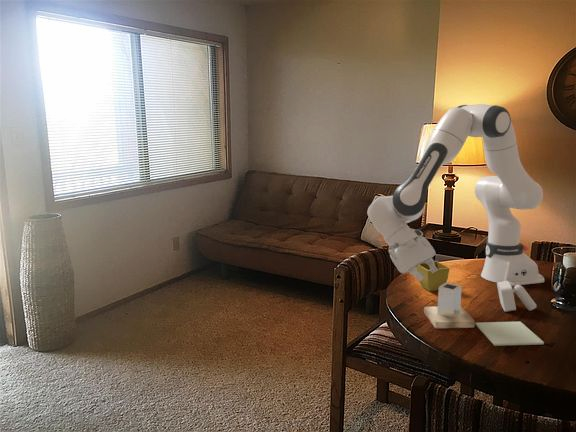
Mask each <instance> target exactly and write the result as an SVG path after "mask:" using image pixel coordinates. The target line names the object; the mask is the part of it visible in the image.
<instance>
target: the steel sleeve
mask: <svg viewBox="0 0 576 432" xmlns="http://www.w3.org/2000/svg"><path fill="white" fill-rule="evenodd" d="M462 287H463V286H462V285H458V284H454V283H450V282H446V283H444V284H443V285H441V286H440V287H439V290H438V294H437V298H438V299H437V306H438V310H437V314H438V315H442V316H446V317H449V318H455V317H456V316H457V315H458V314H460V306H461V304H462V303H461V301H462ZM461 307H462V306H461Z"/></svg>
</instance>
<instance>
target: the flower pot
mask: <svg viewBox="0 0 576 432" xmlns="http://www.w3.org/2000/svg"><path fill="white" fill-rule="evenodd" d="M434 264H435V266H436V267H437V269H438V270H437V271H436V272H435V273H432V272H431V271H430V270H429V269H430V267H429V265H428V264H426V262H424V263H422V264H420V265H418V266H416V268H417V269H416V270H417V271H418V272H420V274H421V273H422V274H423V275H424V276H425V278H424V279H423V280H421V281H418V282H419V284H420V286H421V287H422V288H423V289H425V290H427V291H428V292H434V291H435V292H436V291H439V287H440V286H441V285H443V284H444V283H448V278H449V273H450V267H449V266H448V265H446V264H443V263H442V262H440V261H437V260H434Z"/></svg>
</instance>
